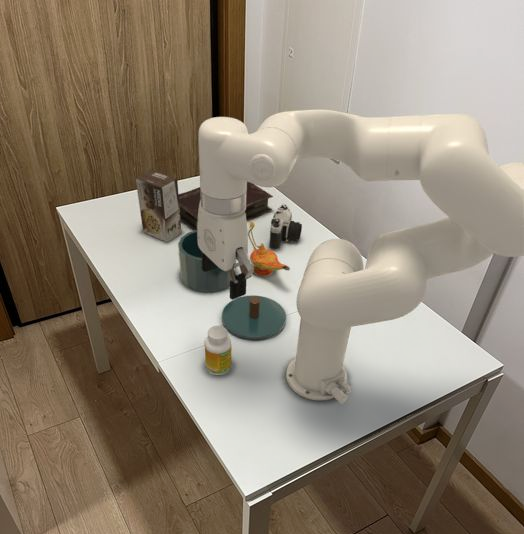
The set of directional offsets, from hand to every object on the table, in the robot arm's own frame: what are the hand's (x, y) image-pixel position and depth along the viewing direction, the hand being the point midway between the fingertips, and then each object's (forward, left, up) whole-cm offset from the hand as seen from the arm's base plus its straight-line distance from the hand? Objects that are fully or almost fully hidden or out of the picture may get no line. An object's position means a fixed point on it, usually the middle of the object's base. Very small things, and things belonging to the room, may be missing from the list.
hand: (223, 282), depth 99 cm
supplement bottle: (-1, +2, -20) cm, 20 cm away
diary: (+52, -33, -20) cm, 64 cm away
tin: (+27, -13, -20) cm, 35 cm away
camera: (+30, -40, -20) cm, 53 cm away
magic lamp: (+20, -26, -20) cm, 38 cm away
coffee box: (+51, -13, -20) cm, 56 cm away
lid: (+7, -13, -19) cm, 24 cm away
